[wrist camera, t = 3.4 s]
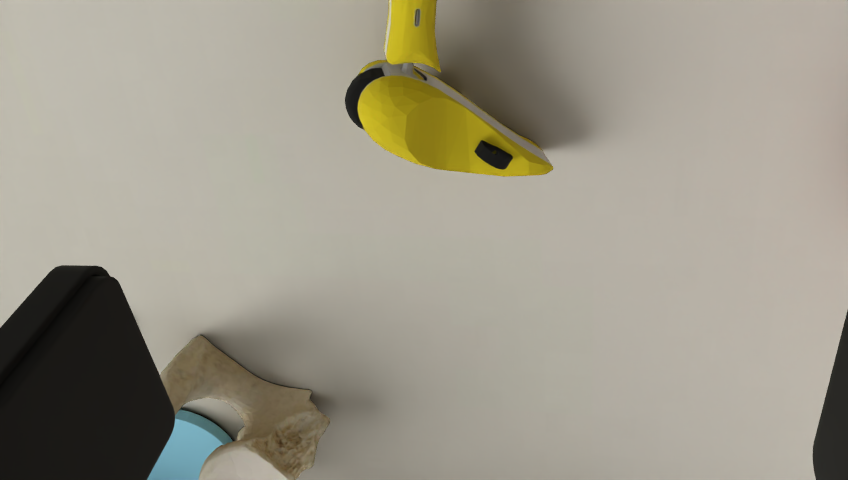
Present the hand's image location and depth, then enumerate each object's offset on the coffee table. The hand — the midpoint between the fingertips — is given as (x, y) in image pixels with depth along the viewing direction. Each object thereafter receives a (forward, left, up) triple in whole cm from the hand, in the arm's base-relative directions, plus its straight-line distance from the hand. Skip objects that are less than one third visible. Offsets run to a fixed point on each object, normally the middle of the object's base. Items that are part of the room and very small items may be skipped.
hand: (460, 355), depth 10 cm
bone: (-13, -17, -15) cm, 26 cm away
